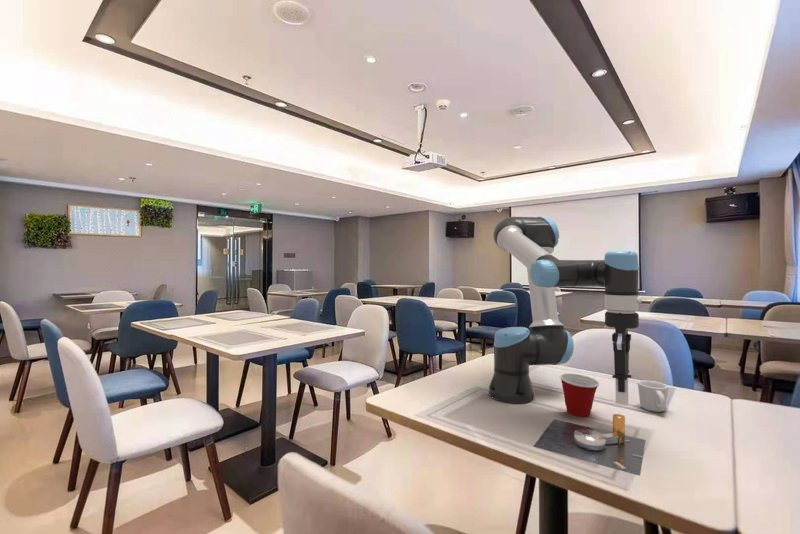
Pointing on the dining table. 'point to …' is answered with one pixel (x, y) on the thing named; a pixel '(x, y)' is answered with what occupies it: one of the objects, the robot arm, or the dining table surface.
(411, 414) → the dining table surface
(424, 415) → the dining table surface
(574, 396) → the plastic cup
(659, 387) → the cup
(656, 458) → the dining table surface
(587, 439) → the metal measuring spoon
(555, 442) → the panel
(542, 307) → the robot arm
